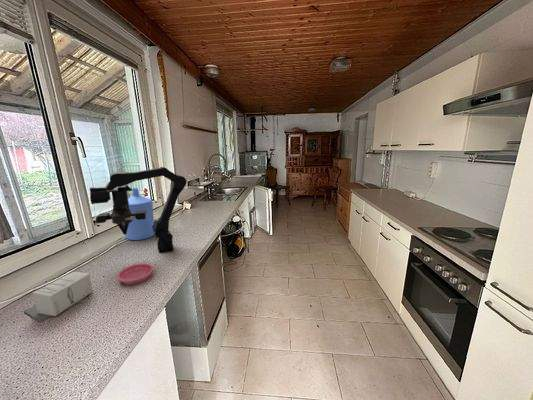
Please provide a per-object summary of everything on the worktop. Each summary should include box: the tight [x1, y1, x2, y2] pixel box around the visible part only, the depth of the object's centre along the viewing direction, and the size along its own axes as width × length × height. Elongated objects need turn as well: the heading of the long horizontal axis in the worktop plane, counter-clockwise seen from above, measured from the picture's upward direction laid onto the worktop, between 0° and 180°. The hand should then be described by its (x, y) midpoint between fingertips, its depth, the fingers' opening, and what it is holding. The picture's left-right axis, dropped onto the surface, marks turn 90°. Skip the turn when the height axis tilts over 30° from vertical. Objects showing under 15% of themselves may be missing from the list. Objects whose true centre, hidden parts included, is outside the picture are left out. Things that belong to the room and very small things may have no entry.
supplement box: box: [32, 271, 94, 317], centre depth 74 cm, size 7×7×13 cm
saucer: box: [116, 263, 154, 286], centre depth 89 cm, size 12×12×3 cm
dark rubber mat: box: [23, 296, 87, 323], centre depth 74 cm, size 12×10×1 cm
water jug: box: [125, 188, 155, 241], centre depth 128 cm, size 16×16×28 cm
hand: (125, 234), depth 101 cm, fingers closed
